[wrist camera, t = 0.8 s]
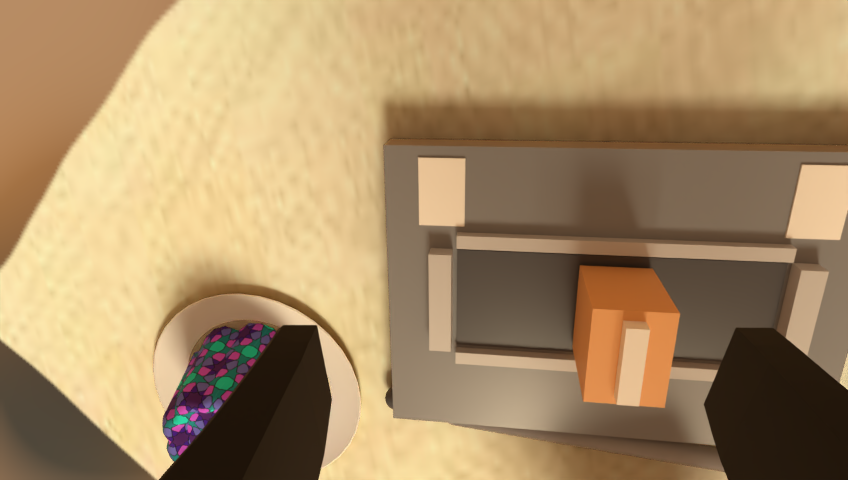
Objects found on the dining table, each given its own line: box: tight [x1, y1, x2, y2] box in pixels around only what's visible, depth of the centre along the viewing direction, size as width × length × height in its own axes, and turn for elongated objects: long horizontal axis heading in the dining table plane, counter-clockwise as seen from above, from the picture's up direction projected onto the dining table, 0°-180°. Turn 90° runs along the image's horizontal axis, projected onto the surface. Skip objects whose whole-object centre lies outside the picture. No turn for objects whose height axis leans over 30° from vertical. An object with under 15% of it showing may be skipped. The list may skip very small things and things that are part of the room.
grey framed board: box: [384, 139, 848, 445], centre depth 25 cm, size 14×20×2 cm
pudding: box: [153, 294, 361, 469], centre depth 29 cm, size 12×12×5 cm
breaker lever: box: [572, 265, 680, 408], centre depth 22 cm, size 4×3×5 cm
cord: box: [449, 423, 725, 472], centre depth 28 cm, size 19×1×1 cm, turn 85°
